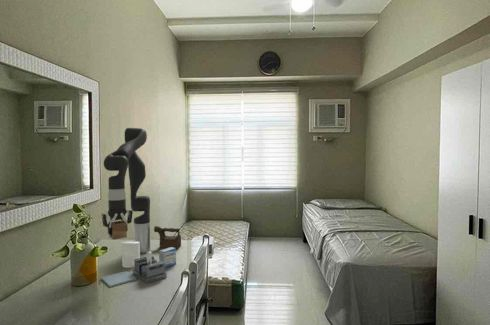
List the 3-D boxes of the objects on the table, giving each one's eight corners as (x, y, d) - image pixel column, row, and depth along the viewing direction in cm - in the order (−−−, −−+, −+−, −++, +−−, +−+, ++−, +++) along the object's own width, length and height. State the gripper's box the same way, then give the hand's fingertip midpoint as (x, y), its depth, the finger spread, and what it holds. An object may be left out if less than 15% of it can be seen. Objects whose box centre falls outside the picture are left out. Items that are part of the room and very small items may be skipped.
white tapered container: (143, 261, 173) (142, 240, 173) (135, 268, 164) (135, 245, 164) (127, 261, 174) (126, 239, 173) (119, 267, 165) (118, 244, 165)
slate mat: (101, 279, 151) (101, 277, 150) (126, 272, 158) (126, 270, 158) (110, 287, 142) (110, 285, 141) (136, 279, 149) (136, 278, 149)
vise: (132, 273, 158) (132, 250, 157) (151, 267, 164) (151, 246, 164) (146, 283, 146) (146, 258, 145) (166, 277, 152) (166, 253, 152)
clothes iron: (158, 245, 203) (157, 224, 202) (182, 246, 201) (181, 225, 200) (152, 249, 195) (152, 227, 194) (177, 250, 193) (177, 228, 192)
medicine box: (164, 268, 163) (164, 252, 163) (159, 266, 166) (158, 250, 166) (176, 264, 170) (176, 248, 169) (170, 262, 172) (170, 246, 172)
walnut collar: (109, 237, 149) (108, 222, 149) (122, 234, 153) (121, 220, 153) (113, 239, 145) (113, 224, 144) (126, 237, 149) (126, 222, 148)
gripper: (129, 195, 156) (129, 229, 157) (98, 199, 146) (99, 235, 147) (135, 197, 150) (136, 232, 151) (103, 201, 141) (104, 238, 141)
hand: (117, 233), depth 149 cm, fingers closed on walnut collar, 6 cm apart
